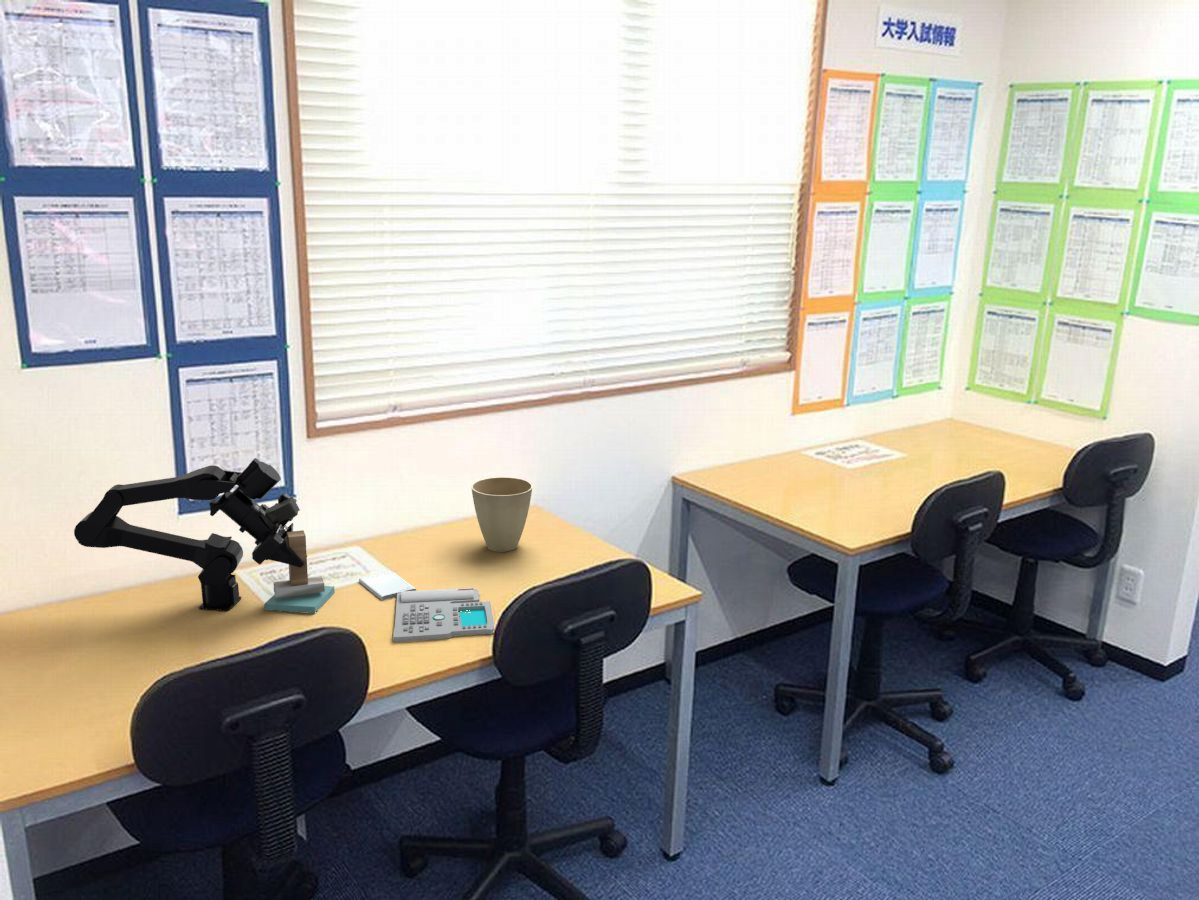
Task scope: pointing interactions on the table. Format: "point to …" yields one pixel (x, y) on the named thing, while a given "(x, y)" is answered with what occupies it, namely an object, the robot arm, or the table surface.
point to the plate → (300, 601)
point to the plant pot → (501, 510)
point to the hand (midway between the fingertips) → (304, 561)
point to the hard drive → (386, 585)
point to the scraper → (298, 571)
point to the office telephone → (441, 614)
